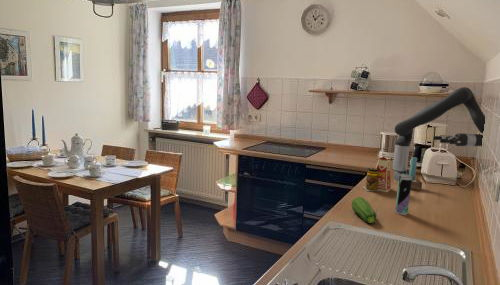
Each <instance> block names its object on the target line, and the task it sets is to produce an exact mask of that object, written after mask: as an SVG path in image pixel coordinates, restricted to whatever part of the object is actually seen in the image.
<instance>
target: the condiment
mask: <svg viewBox="0 0 500 285" xmlns="http://www.w3.org/2000/svg"><path fill="white" fill-rule="evenodd" d="M377 186H378V169H377V168H376V167H369V168H367V173H366V180H365V186H362V188H363V189H364V190H365V191H366V192H380V191H379V190H377Z"/></svg>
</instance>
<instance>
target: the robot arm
mask: <svg viewBox="0 0 500 285" xmlns="http://www.w3.org/2000/svg"><path fill="white" fill-rule="evenodd" d="M462 104H463V105H464V106H465V107H466V108H465V109H467V110H468V113H469V115H470V118H471V119H472V120H471V121H472V123H473V124H474V125H475V127H476V129H477V130H478V132H480V133H463V132H462V133H461V132H460V133H459V132H458V133H456V134H455V135H454V136H453V135H445V134H444V135H443V134H442V135H441V134H440V135H435V136H433V140H435V141H439V142H440V144H450V145H455V146H457V147H482V138H483V135H484V134H483V131H484V124H485V116H486V115H485V114H484V112H483V111H482V109H481V108H480V105H479V103H478V102H477V100H476V98H475V95H474V93H473V91H472V90H471V88H469V87H466V86H465V87H459V88H457V89H455V90H454V91H453V92H451V93H450V94H449V95H447V96H446V97H444V98H442V99H440V100H439V101H436V102H434V103H432V104H430V105H428V106H426V107H424V108H423V109H422V110H420V111H418V112H416V113H415V114H414V115H412V116H410V117H409V118H406V119H404V120H402V121H400V122H398V123H396V125H395V127H394V133H395V134H396V135H398V138H397V139H396V140H395V143H394V153H393V162H392V170H394V171H408V162H409V154H410V145H411V142H412V140H413V133H414V129H416V128H418V127H419V126H423V125H425V124H429V123H430V122H433V121H435V120H436V119H438V118H441V116H443V115H444V114H445V113H447V112H448V111H449V110H451V109H453V108H456V107H457V106H460V105H462Z"/></svg>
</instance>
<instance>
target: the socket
mask: <svg viewBox="0 0 500 285" xmlns="http://www.w3.org/2000/svg"><path fill="white" fill-rule="evenodd" d="M415 181H417V182H414V181H412V182H411V191H422V186H423V182H422V181H421V180H419V179H416V178H415Z"/></svg>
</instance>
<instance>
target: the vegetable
mask: <svg viewBox="0 0 500 285" xmlns="http://www.w3.org/2000/svg"><path fill="white" fill-rule="evenodd" d="M350 206H351V208H352V211H353V212H355V213H356V214H357V215H358V216H360V218H361V219H363V221H364V222H367V224H373V223H375V222H376V220H377V213H376V212H375V210H374V209H373V208H372V206H371V205H370V203H369V202H368V200H366V199H365V198H364V197H361V196H357V197H354V198H353V199H352V200H351V205H350Z"/></svg>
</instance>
